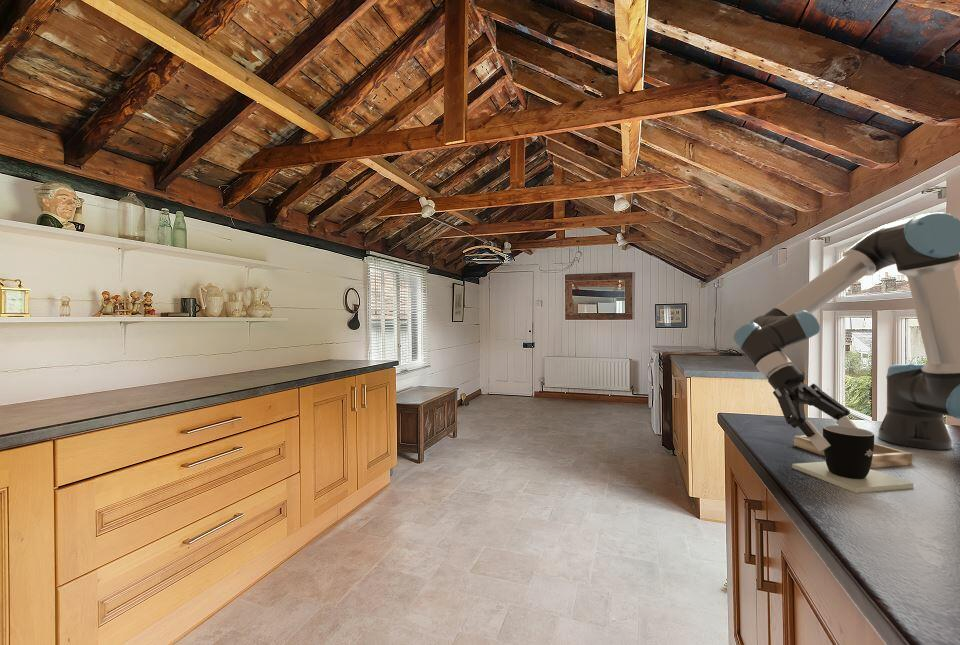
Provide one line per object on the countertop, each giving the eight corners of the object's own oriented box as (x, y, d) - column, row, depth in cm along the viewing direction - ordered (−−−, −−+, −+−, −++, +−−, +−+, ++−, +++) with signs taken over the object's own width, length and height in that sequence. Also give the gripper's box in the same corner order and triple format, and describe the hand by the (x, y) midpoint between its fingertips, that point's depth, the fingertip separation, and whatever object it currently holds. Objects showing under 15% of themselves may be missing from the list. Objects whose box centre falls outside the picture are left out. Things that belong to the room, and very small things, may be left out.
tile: (843, 464, 108) (843, 460, 108) (913, 488, 93) (913, 483, 93) (792, 467, 105) (792, 463, 105) (855, 493, 90) (855, 488, 90)
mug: (871, 485, 92) (872, 438, 92) (818, 473, 98) (819, 430, 98) (876, 471, 100) (877, 428, 100) (827, 461, 107) (828, 420, 106)
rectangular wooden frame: (839, 442, 125) (839, 433, 125) (912, 464, 107) (912, 453, 107) (793, 445, 123) (794, 436, 123) (861, 468, 105) (861, 457, 105)
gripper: (801, 378, 120) (863, 447, 106) (737, 383, 111) (795, 459, 98) (822, 362, 115) (890, 432, 101) (756, 365, 106) (821, 442, 93)
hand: (844, 445), depth 100 cm, fingers open, 13 cm apart
